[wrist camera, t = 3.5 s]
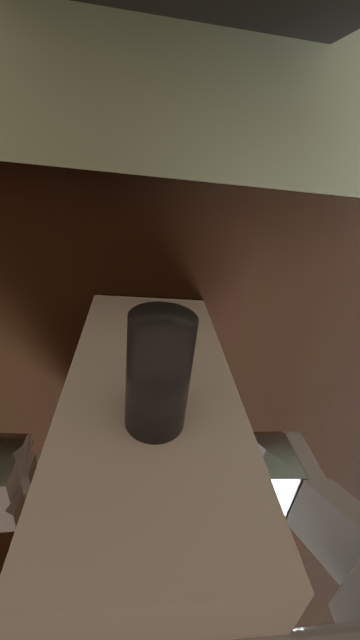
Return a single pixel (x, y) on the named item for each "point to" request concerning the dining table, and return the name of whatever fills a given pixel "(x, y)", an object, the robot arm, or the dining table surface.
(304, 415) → the dining table surface
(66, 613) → the keyed plug
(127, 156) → the socket board
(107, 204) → the dining table surface
